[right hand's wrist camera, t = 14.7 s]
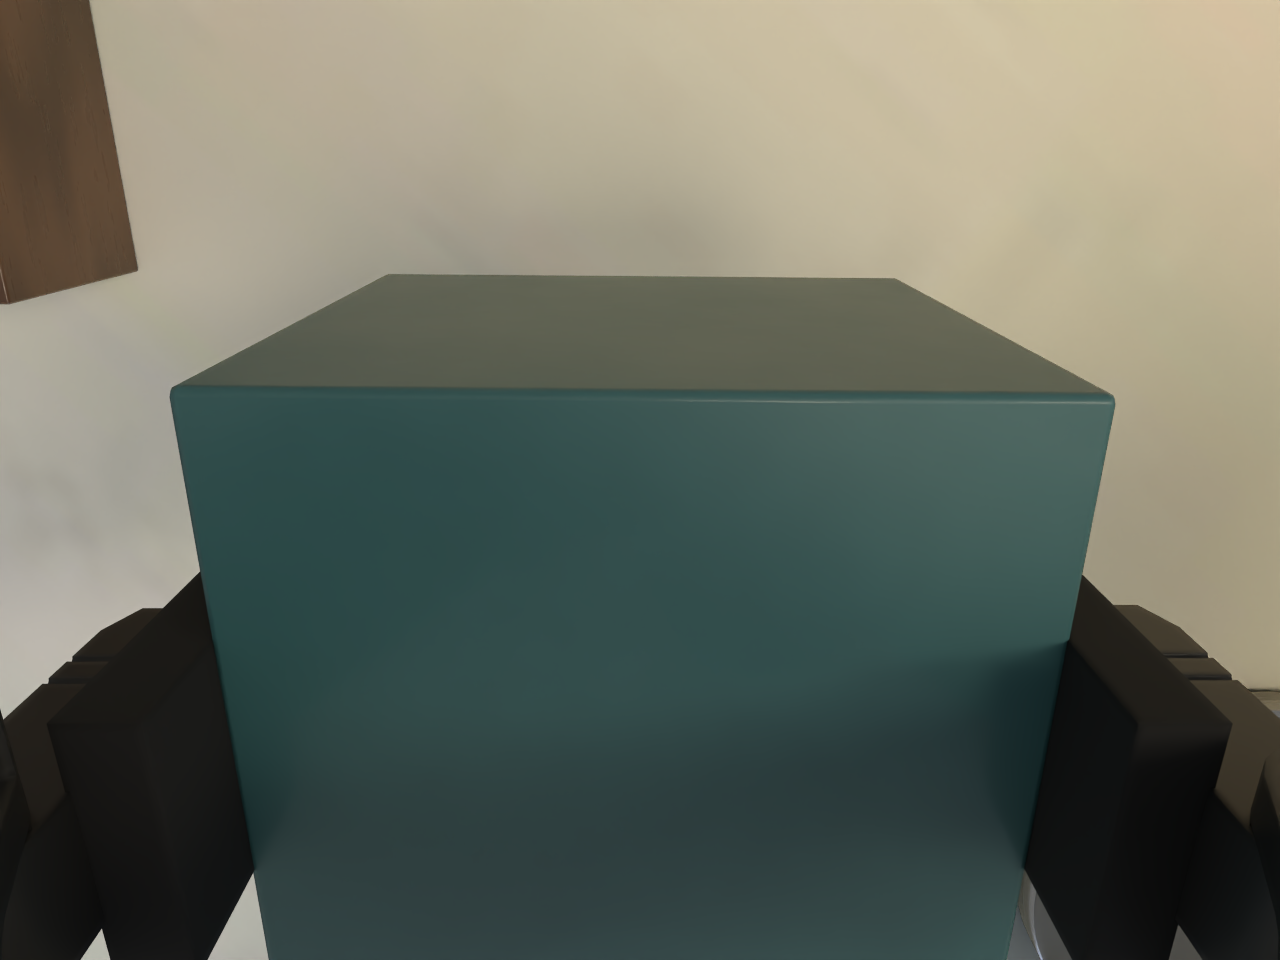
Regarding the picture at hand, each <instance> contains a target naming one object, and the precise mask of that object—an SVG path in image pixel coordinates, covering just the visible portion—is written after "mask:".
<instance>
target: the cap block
mask: <svg viewBox="0 0 1280 960" xmlns="http://www.w3.org/2000/svg"><path fill="white" fill-rule="evenodd" d="M170 402H171V408H172V413H173V419H174V425H175V430H176V436H177V442H178V447H179V453H180V459H181V464H182V470H183V476H184V481H185V487H186V493H187V498H188V504H189V510H190V515H191V521H192V527H193V532H194V538H195V544H196V550H197V555H198V561H199V567H200V572H201V578H202V584H203V589H204V595H205V601H206V606H207V612H208V618H209V623H210V629H211V635H212V640H213V646H214V652H215V657H216V663H217V669H218V674H219V680H220V685H221V691H222V696H223V701H224V707H225V712H226V718H227V723H228V729H229V734H230V740H231V745H232V750H233V756H234V761H235V767H236V772H237V778H238V783H239V789H240V794H241V799H242V805H243V810H244V816H245V821H246V827H247V832H248V837H249V843H250V848H251V854H252V859H253V865H254V872H253V873H254V878H255V884H256V890H257V895H258V901H259V907H260V912H261V918H262V924H263V929H264V935H265V941H266V946H267V952H268V958H269V960H1007V955H1008V950H1009V945H1010V939H1011V934H1012V929H1013V924H1014V919H1015V914H1016V909H1017V904H1018V899H1019V894H1020V888H1021V883H1022V878H1023V873H1024V868H1025V863H1026V858H1027V853H1028V848H1029V843H1030V837H1031V832H1032V827H1033V822H1034V817H1035V811H1036V806H1037V801H1038V795H1039V790H1040V785H1041V779H1042V774H1043V769H1044V763H1045V758H1046V753H1047V748H1048V742H1049V737H1050V732H1051V726H1052V721H1053V716H1054V710H1055V705H1056V700H1057V694H1058V689H1059V684H1060V678H1061V673H1062V668H1063V662H1064V657H1065V652H1066V646H1067V641H1068V640H1069V638H1070V633H1071V628H1072V623H1073V618H1074V613H1075V608H1076V603H1077V598H1078V592H1079V587H1080V582H1081V577H1082V572H1083V567H1084V562H1085V557H1086V552H1087V547H1088V541H1089V536H1090V531H1091V526H1092V521H1093V516H1094V511H1095V506H1096V501H1097V495H1098V490H1099V485H1100V480H1101V475H1102V470H1103V465H1104V460H1105V455H1106V450H1107V444H1108V439H1109V434H1110V429H1111V424H1112V419H1113V414H1114V409H1115V399H1114V396H1113V395H1112V394H1110V393H1108V392H1106V391H1104V390H1102V389H1100V388H1099V387H1097V386H1095V385H1093V384H1091V383H1089V382H1087V381H1086V380H1084V379H1082V378H1080V377H1078V376H1076V375H1074V374H1072V373H1071V372H1069V371H1067V370H1065V369H1063V368H1061V367H1059V366H1058V365H1056V364H1054V363H1052V362H1050V361H1048V360H1046V359H1045V358H1043V357H1041V356H1039V355H1037V354H1035V353H1033V352H1031V351H1030V350H1028V349H1026V348H1024V347H1022V346H1020V345H1018V344H1017V343H1015V342H1013V341H1011V340H1009V339H1007V338H1005V337H1003V336H1002V335H1000V334H998V333H996V332H994V331H992V330H990V329H989V328H987V327H985V326H983V325H981V324H979V323H977V322H976V321H974V320H972V319H970V318H968V317H966V316H964V315H962V314H961V313H959V312H957V311H955V310H953V309H951V308H949V307H948V306H946V305H944V304H942V303H940V302H938V301H936V300H934V299H933V298H931V297H929V296H927V295H925V294H923V293H921V292H920V291H918V290H916V289H914V288H912V287H910V286H908V285H907V284H905V283H903V282H901V281H899V280H897V279H890V278H771V277H652V276H533V275H413V274H388V275H386V276H384V277H382V278H380V279H378V280H376V281H374V282H372V283H370V284H368V285H366V286H365V287H363V288H361V289H359V290H357V291H355V292H353V293H351V294H349V295H347V296H345V297H344V298H342V299H340V300H338V301H336V302H334V303H332V304H330V305H328V306H326V307H325V308H323V309H321V310H319V311H317V312H315V313H313V314H311V315H309V316H307V317H306V318H304V319H302V320H300V321H298V322H296V323H294V324H292V325H290V326H288V327H286V328H285V329H283V330H281V331H279V332H277V333H275V334H273V335H271V336H269V337H267V338H266V339H264V340H262V341H260V342H258V343H256V344H254V345H252V346H250V347H248V348H247V349H245V350H243V351H241V352H239V353H237V354H235V355H233V356H231V357H229V358H228V359H226V360H224V361H222V362H220V363H218V364H216V365H214V366H212V367H210V368H208V369H207V370H205V371H203V372H201V373H199V374H197V375H195V376H193V377H191V378H189V379H188V380H186V381H184V382H182V383H180V384H178V385H176V386H174V387H172V389H171V392H170Z"/></svg>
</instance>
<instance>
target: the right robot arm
mask: <svg viewBox="0 0 1280 960" xmlns="http://www.w3.org/2000/svg"><path fill="white" fill-rule="evenodd" d="M72 657H73V659H72V662H66V663H65V664H64V665H63V666H62V667H60V668H59V669H58V670H57V671H56V672H55V673H54V674H53V675H52V676H51V677H50V678H49V682H48V684H42V685H41V686H40V687H39V688H38V689H36V690H35V691H34V692H33V693H32V694H31V695H30V696H29V697H28V698H27V699H26V700H24V701H23V702H22V703H21V704H20V705H19V706H18V707H17V708H16V709H15V710H13V711H12V712H11V713H10V714H9V715H8V716H7V717H6V718H5V719H4V720H3V717H2V714H1V710H0V960H81V958H82V957H83V955H84V954H85V952H86V951H87V949H88V948H89V946H90V945H91V943H92V942H93V941H94V939H95V938H96V936H97V935H98V933H99V932H100V930H101V929H102V930H103V934H104V938H105V941H106V945H107V949H108V952H109V956H110V960H208V958H209V956H210V954H211V952H212V950H213V948H214V946H215V944H216V942H217V940H218V939H219V937H220V935H221V933H222V931H223V929H224V927H225V925H226V923H227V921H228V920H229V918H230V916H231V914H232V912H233V910H234V908H235V906H236V904H237V902H238V901H239V899H240V897H241V895H242V893H243V891H244V889H245V887H246V885H247V883H248V881H249V880H250V878H251V876H252V874H253V872H254V865H253V859H252V854H251V848H250V843H249V837H248V832H247V827H246V821H245V816H244V810H243V805H242V799H241V794H240V789H239V783H238V778H237V772H236V767H235V761H234V756H233V750H232V745H231V740H230V734H229V729H228V723H227V718H226V712H225V707H224V701H223V696H222V691H221V685H220V680H219V674H218V669H217V663H216V657H215V652H214V646H213V640H212V635H211V629H210V623H209V618H208V612H207V606H206V601H205V595H204V589H203V584H202V578H201V572H199V573H198V574H197V575H196V576H195V577H194V578H193V579H192V580H191V581H190V582H189V583H188V584H187V585H186V586H185V587H184V588H183V589H182V590H181V591H180V592H179V593H178V594H177V595H176V596H175V597H174V598H173V599H172V600H171V601H170V602H169V603H168V604H167V605H166V606H165V607H164V608H142V609H140V610H139V611H137V612H135V613H133V614H131V615H129V616H127V617H125V618H124V619H122V620H120V621H118V622H116V623H114V624H112V625H110V626H108V627H107V628H105V629H103V630H101V631H100V632H99V633H98V634H97V635H95V636H94V637H93V638H92V639H91V640H90V641H89V642H88V643H87V644H86V645H84V646H83V647H82V648H81V649H80V650H79V651H78V652H77V653H76V654H75V655H74V656H72ZM1018 905H1019V910H1020V914H1021V917H1022V921H1023V923H1024V926H1025V928H1026V930H1027V933H1028V935H1029V937H1030V939H1031V941H1032V943H1033V945H1034V947H1035V949H1036V951H1037V953H1038V955H1039V957H1040V960H1280V692H1268V691H1263V692H1250V691H1249V690H1248V689H1247V688H1246V687H1244V686H1243V685H1242V684H1241V683H1240V682H1239V681H1238V680H1232V678H1231V674H1230V673H1229V672H1228V671H1227V670H1226V669H1225V668H1224V667H1222V666H1221V665H1220V664H1219V663H1218V662H1217V661H1216V660H1215V659H1214V658H1208V653H1207V652H1206V651H1205V650H1204V649H1203V648H1202V647H1200V646H1199V645H1198V644H1197V643H1196V642H1195V641H1194V640H1193V639H1192V638H1191V637H1189V636H1188V635H1187V634H1186V633H1185V632H1184V631H1183V630H1182V629H1181V628H1180V627H1178V626H1176V625H1174V624H1172V623H1170V622H1168V621H1166V620H1165V619H1163V618H1161V617H1159V616H1157V615H1155V614H1153V613H1151V612H1149V611H1147V610H1146V609H1144V608H1142V607H1140V606H1138V605H1112V604H1111V603H1110V602H1109V601H1108V600H1107V599H1106V598H1105V597H1104V596H1103V595H1102V594H1101V593H1100V592H1099V591H1098V590H1097V589H1096V588H1095V587H1094V586H1093V585H1092V584H1091V583H1090V582H1089V581H1088V580H1087V579H1086V578H1085V577H1084V576H1083V575H1082V577H1081V582H1080V587H1079V592H1078V598H1077V603H1076V608H1075V613H1074V618H1073V623H1072V628H1071V633H1070V638H1069V640H1068V641H1067V646H1066V652H1065V657H1064V662H1063V668H1062V673H1061V678H1060V684H1059V689H1058V694H1057V700H1056V705H1055V710H1054V716H1053V721H1052V726H1051V732H1050V737H1049V742H1048V748H1047V753H1046V758H1045V763H1044V769H1043V774H1042V779H1041V785H1040V790H1039V795H1038V801H1037V806H1036V811H1035V817H1034V822H1033V827H1032V832H1031V837H1030V843H1029V848H1028V853H1027V858H1026V863H1025V868H1024V873H1023V878H1022V883H1021V888H1020V894H1019V899H1018Z"/></svg>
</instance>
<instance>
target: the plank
mask: <svg viewBox="0 0 1280 960" xmlns="http://www.w3.org/2000/svg"><path fill="white" fill-rule="evenodd" d="M137 270H138V268H137V263H136V257H135V252H134V246H133V241H132V236H131V230H130V225H129V219H128V214H127V208H126V203H125V197H124V192H123V186H122V181H121V175H120V170H119V164H118V159H117V153H116V148H115V142H114V137H113V131H112V126H111V120H110V115H109V109H108V104H107V98H106V93H105V88H104V82H103V77H102V71H101V66H100V60H99V55H98V49H97V44H96V38H95V33H94V27H93V22H92V16H91V11H90V5H89V0H0V304H12V303H16V302H20V301H24V300H28V299H31V298H35V297H39V296H43V295H47V294H51V293H55V292H58V291H62V290H66V289H70V288H74V287H78V286H82V285H86V284H89V283H93V282H97V281H101V280H105V279H109V278H113V277H117V276H120V275H124V274H128V273H132V272H136V271H137Z"/></svg>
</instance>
